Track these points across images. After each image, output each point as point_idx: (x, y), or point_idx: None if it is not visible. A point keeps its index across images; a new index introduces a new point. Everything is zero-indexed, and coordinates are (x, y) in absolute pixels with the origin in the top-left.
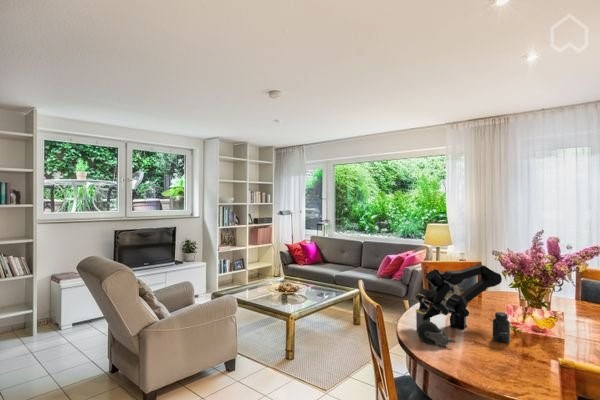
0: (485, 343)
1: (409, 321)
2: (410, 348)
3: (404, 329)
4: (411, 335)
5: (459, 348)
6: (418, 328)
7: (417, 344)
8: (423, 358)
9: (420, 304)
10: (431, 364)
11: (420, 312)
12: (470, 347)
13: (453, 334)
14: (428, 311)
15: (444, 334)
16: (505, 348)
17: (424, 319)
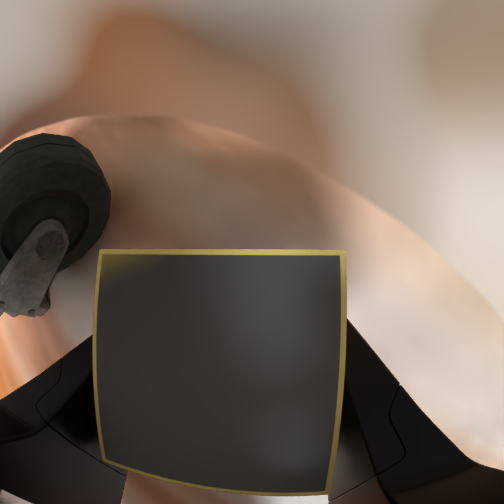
0: None
1: (478, 351)
2: (92, 116)
3: (348, 211)
4: (215, 192)
5: (6, 333)
6: (63, 136)
7: (98, 160)
8: (31, 135)
9: (457, 478)
10: (9, 144)
11: (148, 251)
12: (6, 386)
13: (136, 480)
14: (47, 384)
15: (4, 307)
16: None
17: None
